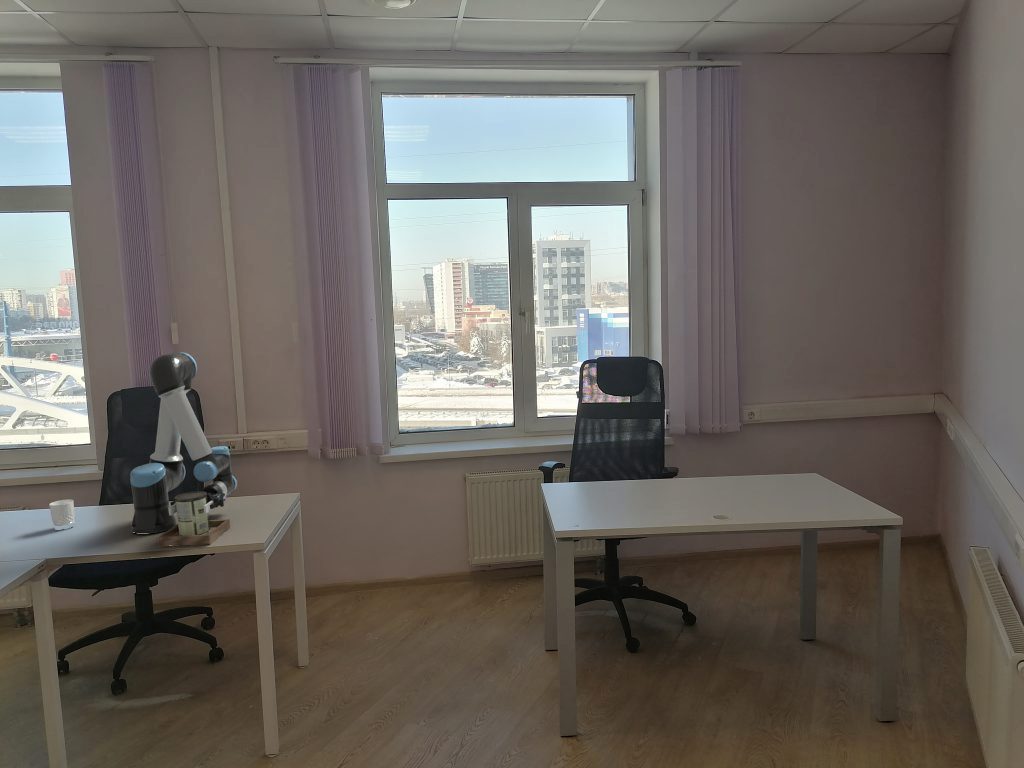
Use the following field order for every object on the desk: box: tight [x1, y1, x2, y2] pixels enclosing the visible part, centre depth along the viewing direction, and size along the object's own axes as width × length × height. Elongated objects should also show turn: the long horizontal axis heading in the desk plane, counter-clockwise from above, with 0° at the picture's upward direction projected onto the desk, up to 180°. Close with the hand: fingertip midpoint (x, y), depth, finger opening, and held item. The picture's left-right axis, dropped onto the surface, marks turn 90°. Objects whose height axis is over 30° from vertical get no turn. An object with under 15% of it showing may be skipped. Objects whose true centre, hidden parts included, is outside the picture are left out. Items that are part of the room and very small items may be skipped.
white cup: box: [48, 499, 76, 526], centre depth 287 cm, size 8×8×10 cm
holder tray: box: [156, 519, 231, 547], centre depth 267 cm, size 18×18×3 cm
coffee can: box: [174, 490, 210, 536], centre depth 266 cm, size 10×10×14 cm
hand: (187, 510), depth 262 cm, fingers open, 12 cm apart
